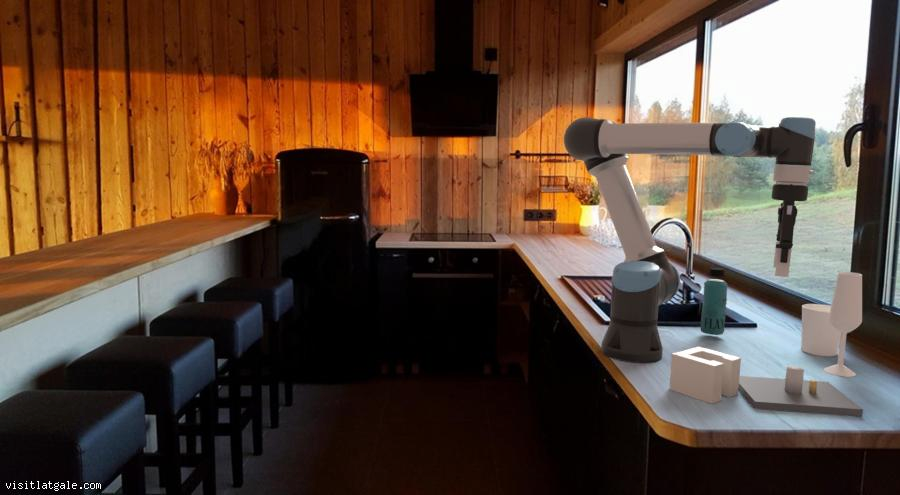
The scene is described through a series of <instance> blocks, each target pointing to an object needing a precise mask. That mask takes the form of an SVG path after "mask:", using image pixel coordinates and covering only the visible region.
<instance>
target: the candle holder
mask: <svg viewBox="0 0 900 495" xmlns="http://www.w3.org/2000/svg"><path fill="white" fill-rule="evenodd" d="M830 309H831V305H829V304H821V303H820V304H819V303H806V304H802V305H801V336H800V337H801V340H800V349H801V351H802V352H803V353H806V354H809V355H813V356H817V357H828V358H829V357H830V358H831V357H836V356H837V354H838V353H839V346H840V336H841V332H840V331H838V330H837V329H836V328H835V327H834V326H833V325H832V323H831V322H830V320H829V314H830Z"/></svg>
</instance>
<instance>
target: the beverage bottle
mask: <svg viewBox="0 0 900 495" xmlns="http://www.w3.org/2000/svg"><path fill="white" fill-rule="evenodd" d="M708 276H710V277H718V278H719V277H720V278H723V277H725V269H724V268H721V267H710V268H709V271H708ZM718 278H709V279H707V280H706V281H704V283H703V285H704V286H703V296H702V297H703V298H702V309H701V318H700V332H701V333H703V334H706V335H713V336H720V335H723V334H724V332H725V325H726V310H727V309H726V308H727V304H728V303H727V301H728V298H727V297H728V283H727V282H726V281H725V280H724V279H718Z"/></svg>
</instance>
